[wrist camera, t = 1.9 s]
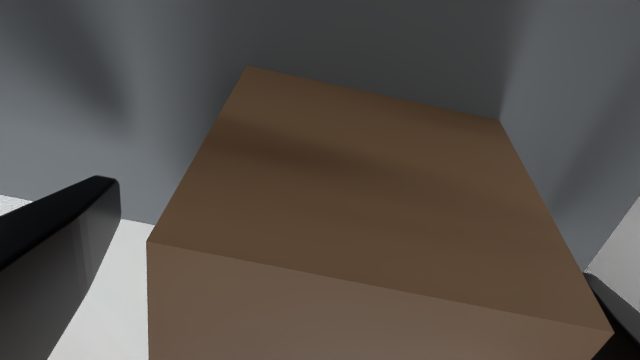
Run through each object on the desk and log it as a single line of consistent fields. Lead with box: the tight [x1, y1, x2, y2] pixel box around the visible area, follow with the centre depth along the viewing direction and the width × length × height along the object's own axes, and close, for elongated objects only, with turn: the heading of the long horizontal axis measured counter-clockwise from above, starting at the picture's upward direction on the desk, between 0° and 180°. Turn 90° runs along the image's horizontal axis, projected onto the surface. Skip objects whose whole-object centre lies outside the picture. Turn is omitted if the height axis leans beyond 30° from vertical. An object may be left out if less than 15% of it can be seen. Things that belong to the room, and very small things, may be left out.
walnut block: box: [146, 66, 614, 360], centre depth 8 cm, size 5×5×5 cm
